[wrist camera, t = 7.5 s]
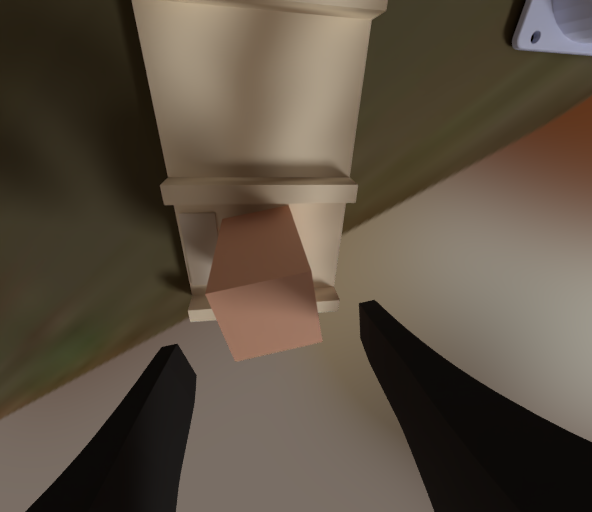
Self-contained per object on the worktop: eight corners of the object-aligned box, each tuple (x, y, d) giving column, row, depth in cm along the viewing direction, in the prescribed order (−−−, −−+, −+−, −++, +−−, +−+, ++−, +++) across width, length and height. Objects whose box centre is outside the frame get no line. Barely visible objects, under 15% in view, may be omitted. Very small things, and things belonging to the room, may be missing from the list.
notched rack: (413, -358, 8) (470, -517, 6) (329, 289, 21) (338, 311, 19) (46, -474, 7) (-48, -738, 5) (196, 297, 20) (190, 321, 17)
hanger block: (288, 205, 16) (311, 270, 10) (298, 260, 18) (322, 341, 12) (222, 218, 16) (205, 294, 10) (240, 273, 18) (235, 361, 12)
